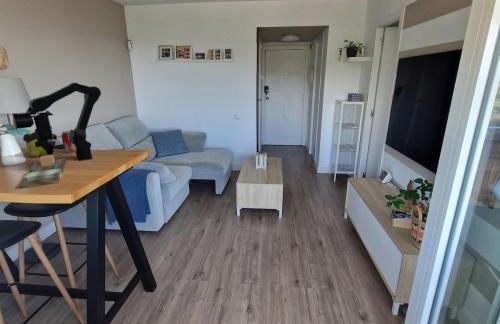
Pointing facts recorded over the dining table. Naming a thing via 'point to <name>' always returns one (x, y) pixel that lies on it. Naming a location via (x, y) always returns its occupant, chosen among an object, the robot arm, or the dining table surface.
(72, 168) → the dining table surface
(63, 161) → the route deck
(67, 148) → the soda can
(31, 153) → the sculpture
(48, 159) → the block
